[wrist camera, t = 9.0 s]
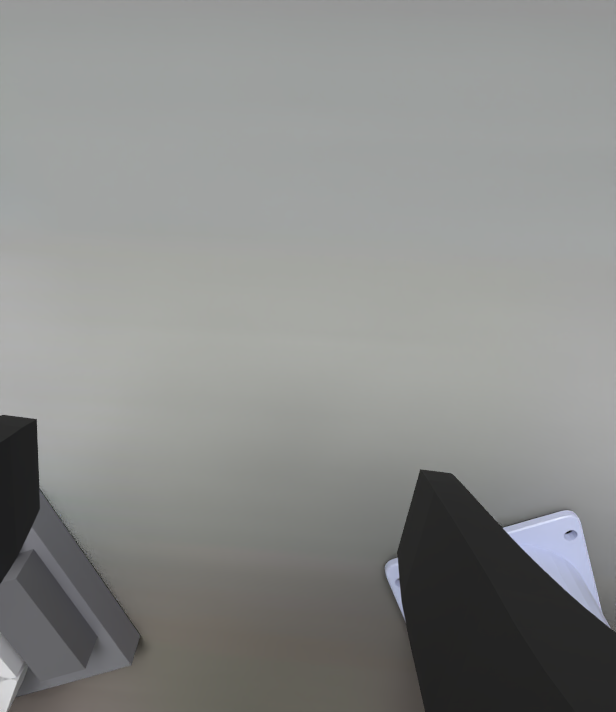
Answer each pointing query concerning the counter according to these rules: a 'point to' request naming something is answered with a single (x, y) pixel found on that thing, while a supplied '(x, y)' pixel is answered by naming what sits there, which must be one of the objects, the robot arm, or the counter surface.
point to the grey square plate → (57, 615)
